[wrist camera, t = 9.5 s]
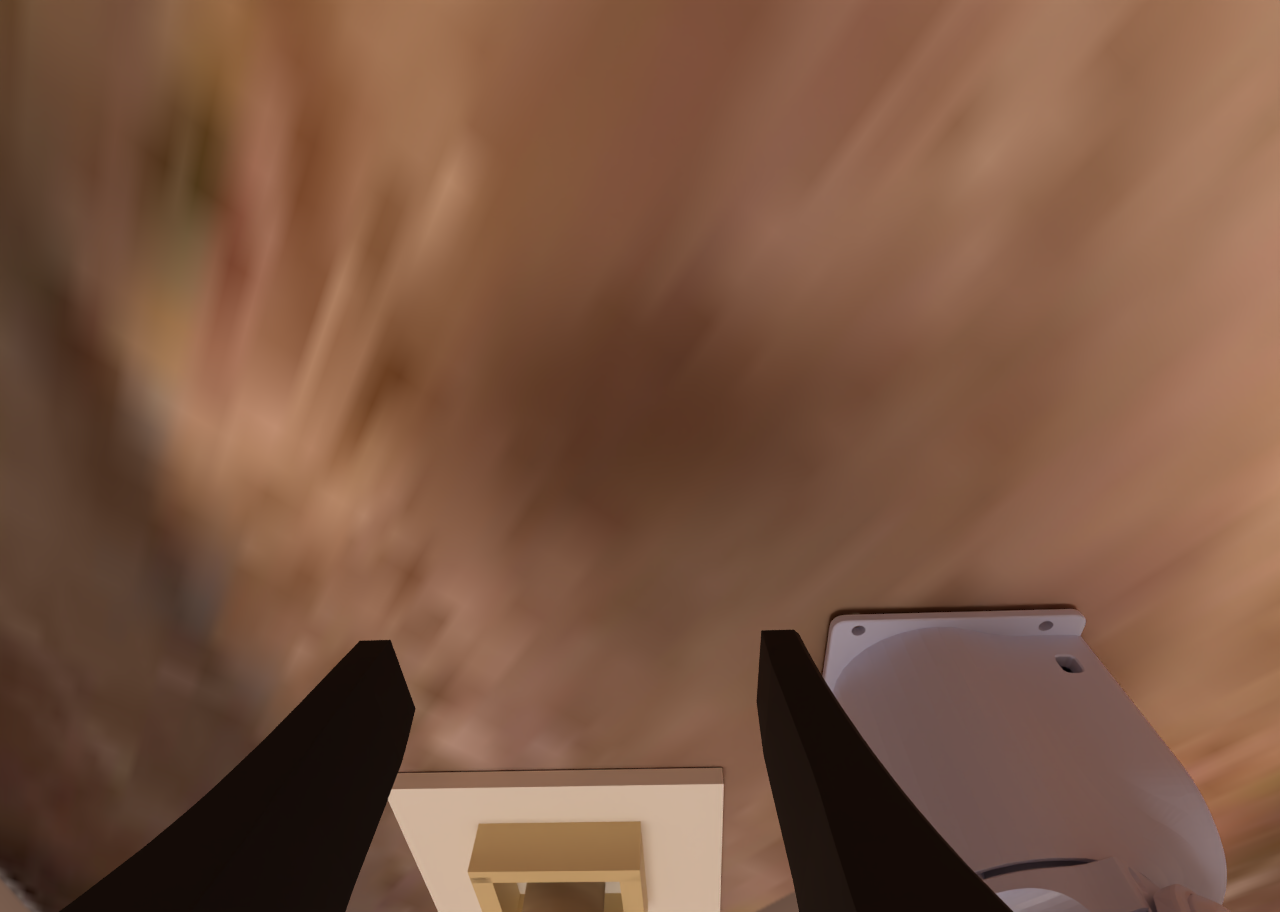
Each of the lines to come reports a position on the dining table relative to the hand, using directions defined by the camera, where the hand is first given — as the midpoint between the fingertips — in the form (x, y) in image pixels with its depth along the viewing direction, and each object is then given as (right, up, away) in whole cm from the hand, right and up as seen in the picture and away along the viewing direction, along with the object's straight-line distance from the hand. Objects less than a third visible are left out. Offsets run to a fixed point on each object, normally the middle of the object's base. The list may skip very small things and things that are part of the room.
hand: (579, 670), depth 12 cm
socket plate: (-3, -17, +21) cm, 27 cm away
